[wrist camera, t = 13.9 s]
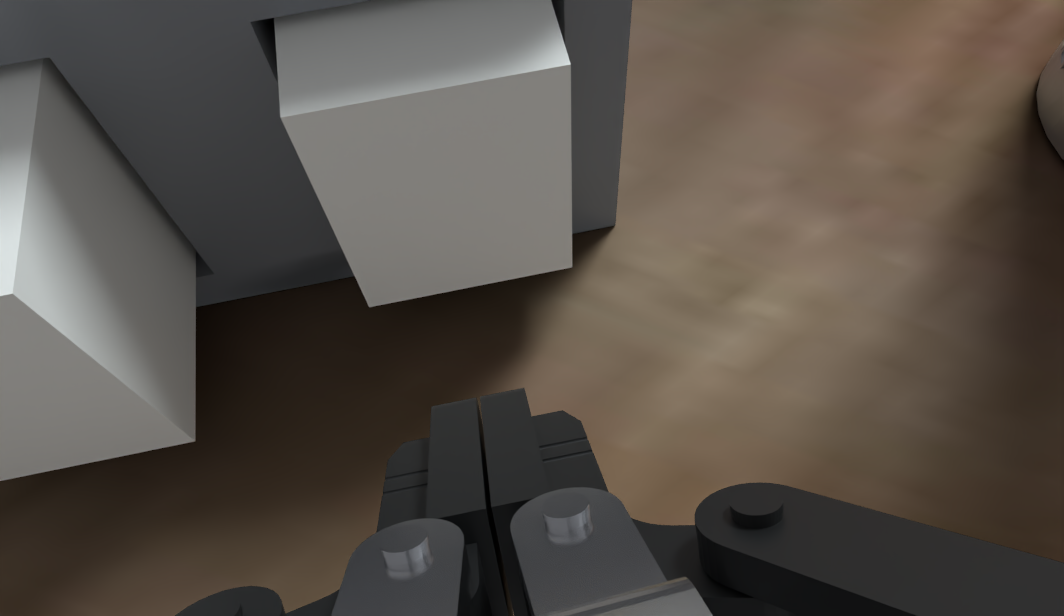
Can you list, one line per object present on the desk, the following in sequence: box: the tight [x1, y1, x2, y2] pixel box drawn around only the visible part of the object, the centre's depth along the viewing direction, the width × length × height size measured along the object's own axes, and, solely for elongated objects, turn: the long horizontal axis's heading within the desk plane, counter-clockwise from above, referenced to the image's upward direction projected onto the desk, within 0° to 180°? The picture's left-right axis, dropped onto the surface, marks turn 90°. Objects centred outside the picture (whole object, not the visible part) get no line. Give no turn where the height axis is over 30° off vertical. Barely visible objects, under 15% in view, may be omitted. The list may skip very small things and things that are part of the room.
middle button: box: [0, 57, 196, 481], centre depth 20 cm, size 9×6×8 cm, turn 11°
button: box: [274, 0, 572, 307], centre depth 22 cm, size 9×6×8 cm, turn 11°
